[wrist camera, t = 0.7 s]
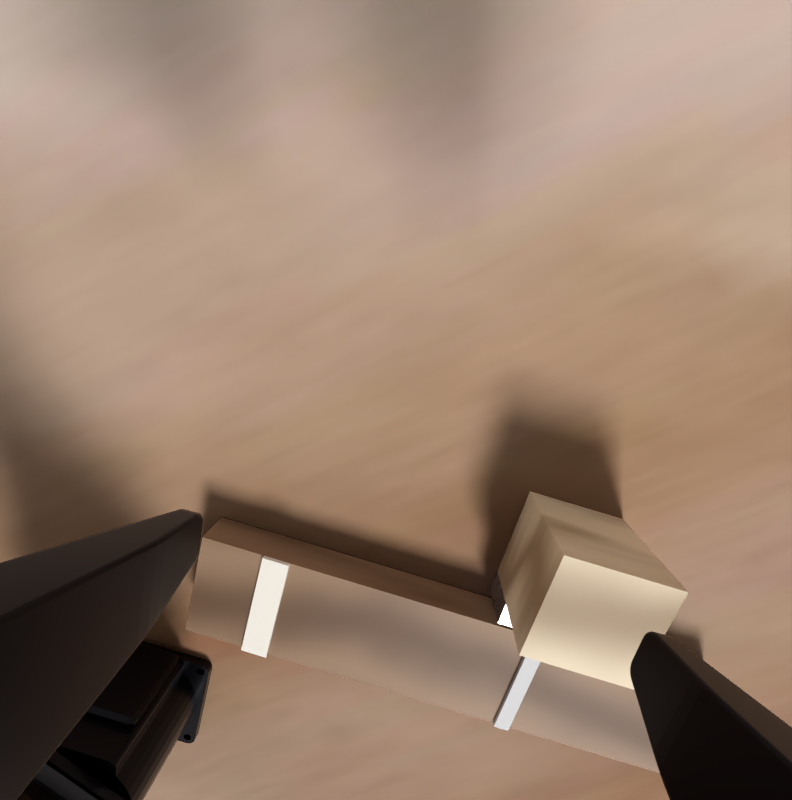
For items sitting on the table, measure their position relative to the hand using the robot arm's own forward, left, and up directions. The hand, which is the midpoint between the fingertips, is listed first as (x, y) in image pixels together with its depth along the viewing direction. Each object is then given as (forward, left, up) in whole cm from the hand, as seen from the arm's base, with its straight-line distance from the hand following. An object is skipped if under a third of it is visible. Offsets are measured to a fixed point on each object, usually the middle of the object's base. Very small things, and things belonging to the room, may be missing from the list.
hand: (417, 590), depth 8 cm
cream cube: (-5, -9, -13) cm, 17 cm away
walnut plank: (-12, -5, -13) cm, 18 cm away
